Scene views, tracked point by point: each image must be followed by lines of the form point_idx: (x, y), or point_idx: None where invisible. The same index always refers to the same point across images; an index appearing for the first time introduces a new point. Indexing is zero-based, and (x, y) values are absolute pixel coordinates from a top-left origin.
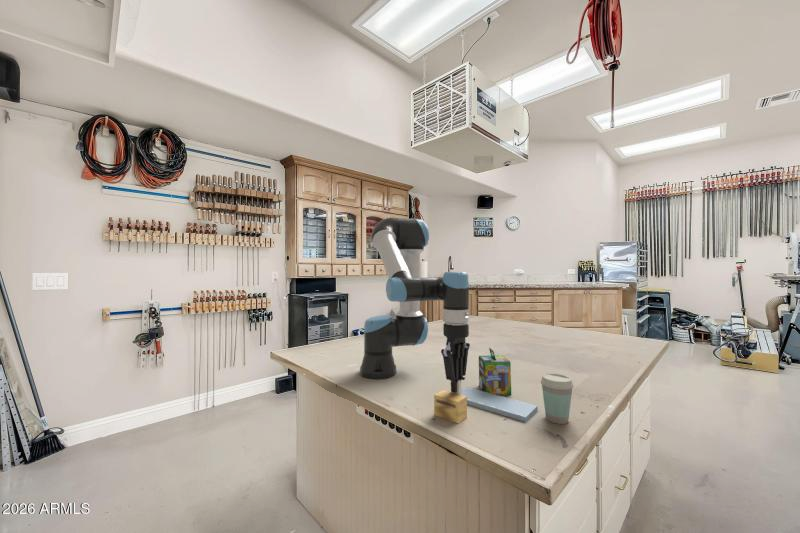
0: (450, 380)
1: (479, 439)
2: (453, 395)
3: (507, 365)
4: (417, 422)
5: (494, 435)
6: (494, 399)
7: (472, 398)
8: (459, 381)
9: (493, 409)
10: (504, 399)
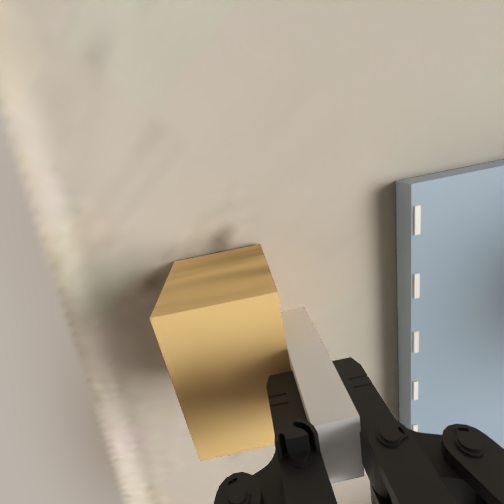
0: (269, 463)
1: (189, 461)
2: (252, 392)
3: None
4: (56, 261)
5: (249, 467)
6: (499, 348)
7: (446, 283)
8: (331, 482)
9: (406, 389)
10: None
